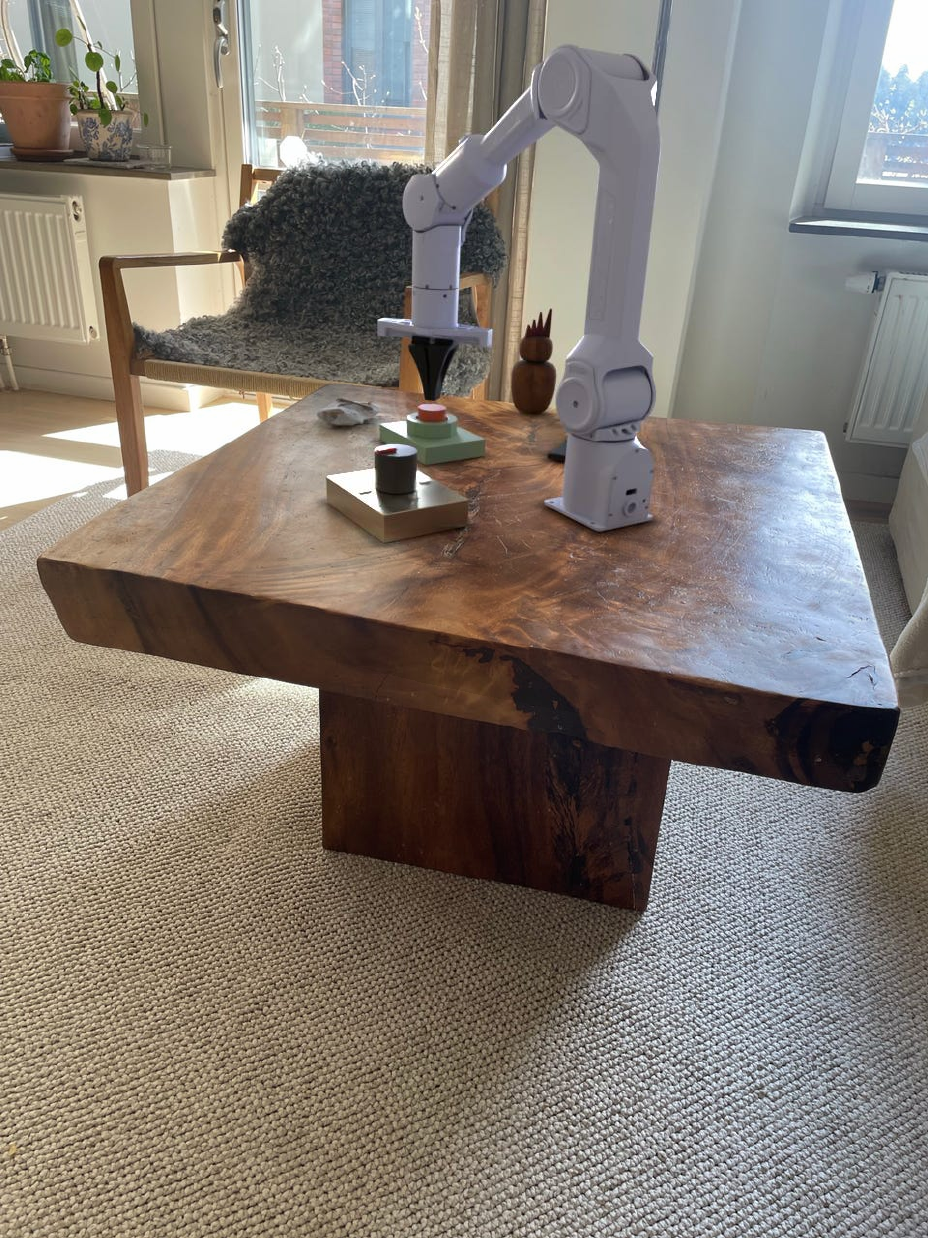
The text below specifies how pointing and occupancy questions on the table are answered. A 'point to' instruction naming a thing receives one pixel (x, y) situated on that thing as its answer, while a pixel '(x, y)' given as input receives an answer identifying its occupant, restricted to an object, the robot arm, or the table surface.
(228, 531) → the table surface
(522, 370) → the wooden figurine
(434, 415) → the button
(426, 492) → the panel
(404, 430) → the button block
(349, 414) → the stone
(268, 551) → the table surface
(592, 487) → the robot arm
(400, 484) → the dial
